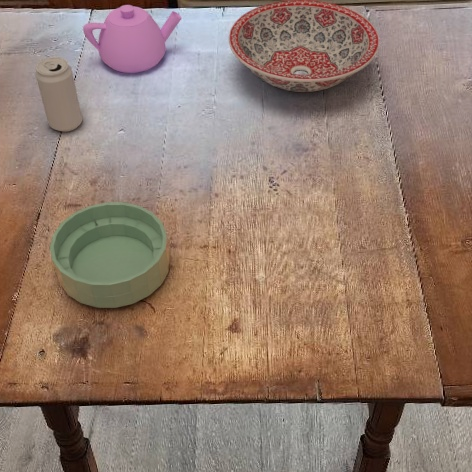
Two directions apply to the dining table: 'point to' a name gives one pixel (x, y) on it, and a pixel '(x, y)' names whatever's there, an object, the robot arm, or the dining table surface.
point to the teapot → (131, 39)
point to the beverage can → (58, 94)
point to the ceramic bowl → (303, 43)
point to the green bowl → (110, 254)
